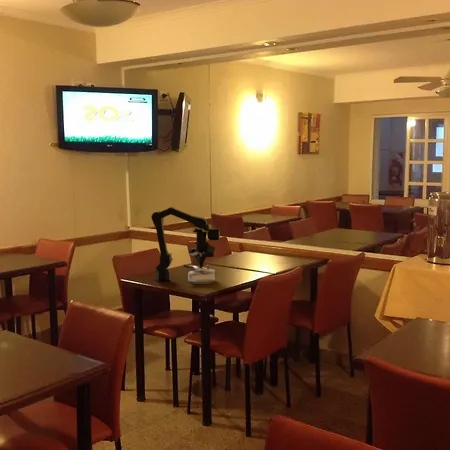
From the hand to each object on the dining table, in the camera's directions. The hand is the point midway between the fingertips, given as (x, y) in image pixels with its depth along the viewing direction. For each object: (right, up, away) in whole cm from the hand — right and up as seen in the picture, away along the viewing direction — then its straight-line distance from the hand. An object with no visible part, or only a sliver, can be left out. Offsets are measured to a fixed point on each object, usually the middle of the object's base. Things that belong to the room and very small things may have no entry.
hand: (200, 267), depth 328 cm
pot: (0, -8, +1) cm, 8 cm away
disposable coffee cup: (-3, -4, +32) cm, 33 cm away
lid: (-1, -1, 0) cm, 1 cm away
